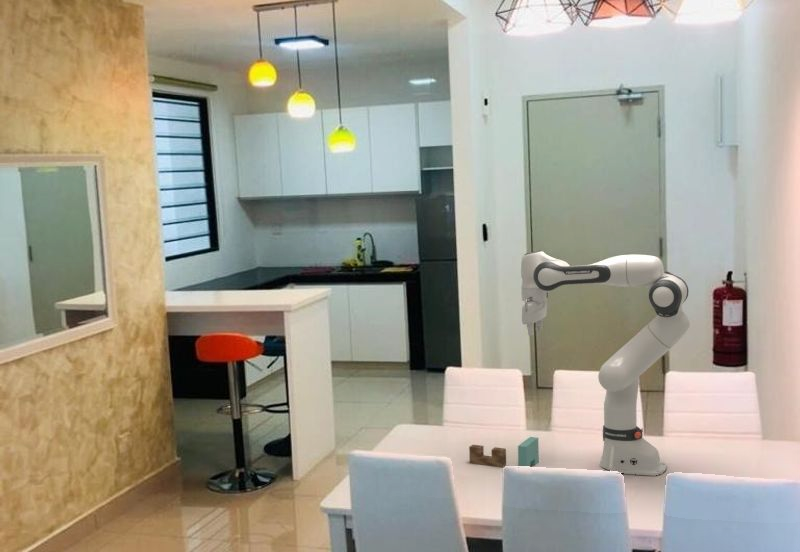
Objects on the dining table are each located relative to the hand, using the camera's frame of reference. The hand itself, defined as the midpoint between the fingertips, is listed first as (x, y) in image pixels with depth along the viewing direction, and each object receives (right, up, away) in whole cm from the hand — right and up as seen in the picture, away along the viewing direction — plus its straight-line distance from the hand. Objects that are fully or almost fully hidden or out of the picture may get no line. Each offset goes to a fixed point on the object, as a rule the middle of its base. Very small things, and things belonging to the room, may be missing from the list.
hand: (534, 333), depth 312 cm
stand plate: (-18, -47, -3) cm, 50 cm away
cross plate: (-3, -47, -8) cm, 48 cm away
